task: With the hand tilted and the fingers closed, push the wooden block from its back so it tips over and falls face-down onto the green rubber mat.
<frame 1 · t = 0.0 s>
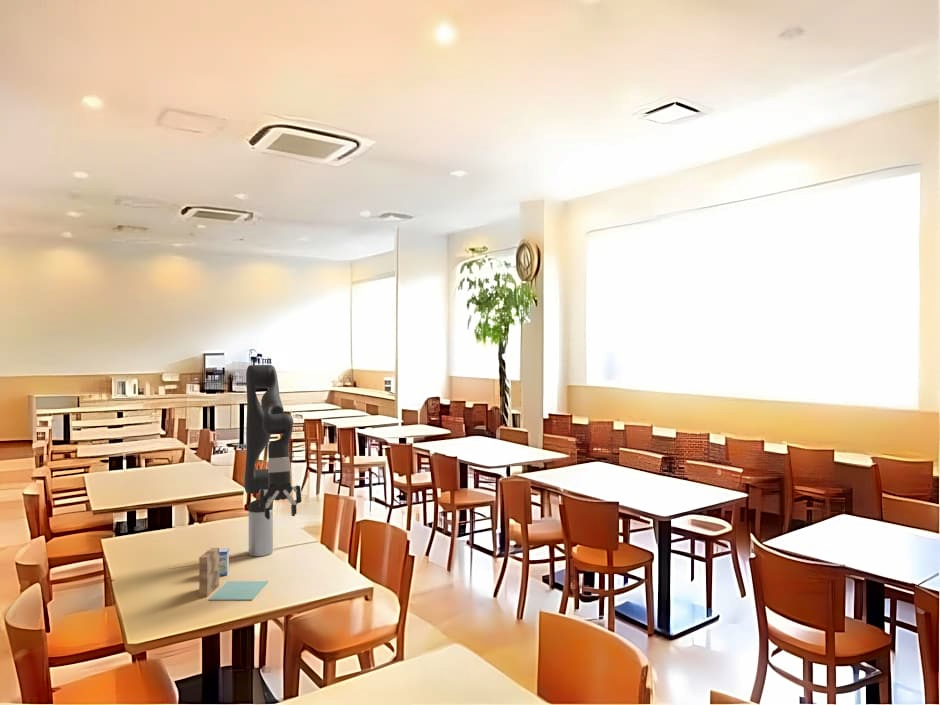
hand: (280, 517, 219), 22 cm above the table, tool pointing down, fingers open, 8 cm apart
medicine box: (216, 575, 227), on the table
mat: (239, 591, 211), on the table
wooden block: (209, 591, 211), on the table
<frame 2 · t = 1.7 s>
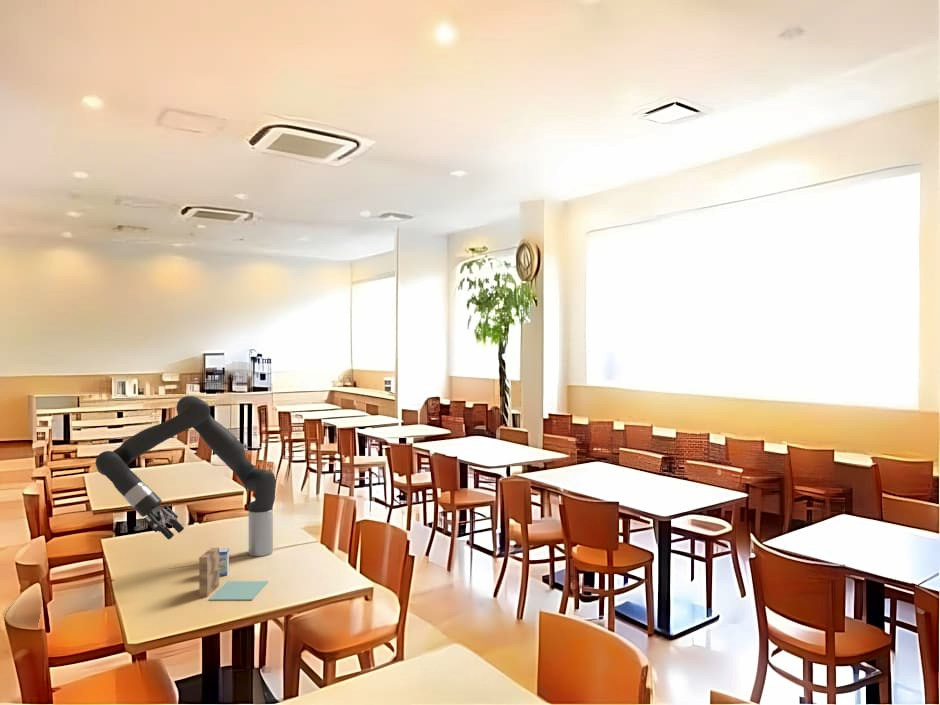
hand: (176, 534, 210), 19 cm above the table, tool tilted 45°, fingers open, 8 cm apart
nothing on the table moved.
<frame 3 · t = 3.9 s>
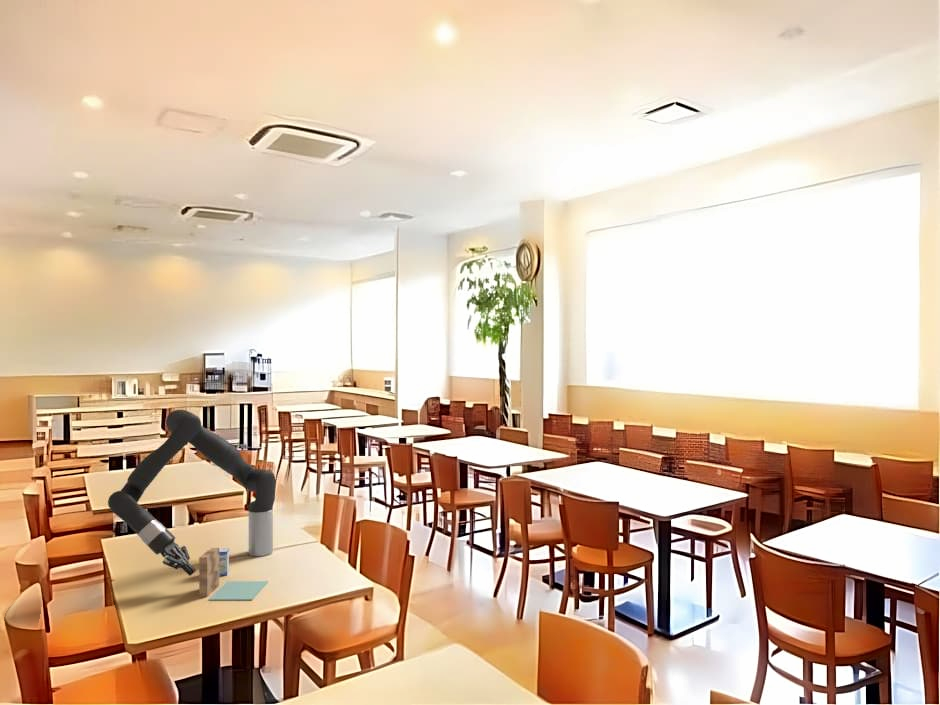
hand: (193, 573, 210), 6 cm above the table, tool tilted 45°, fingers closed
nothing on the table moved.
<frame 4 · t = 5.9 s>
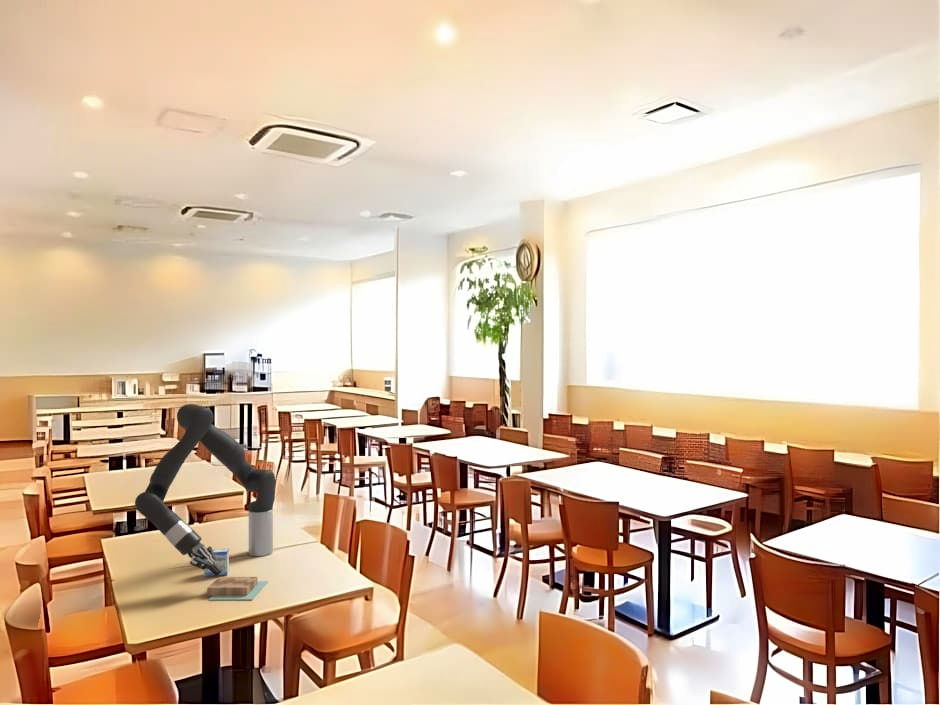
hand: (219, 573, 211), 6 cm above the table, tool tilted 45°, fingers closed
wooden block: (213, 586, 211), point 2 cm above the table, tilted 90°, touching mat
everything else where it was.
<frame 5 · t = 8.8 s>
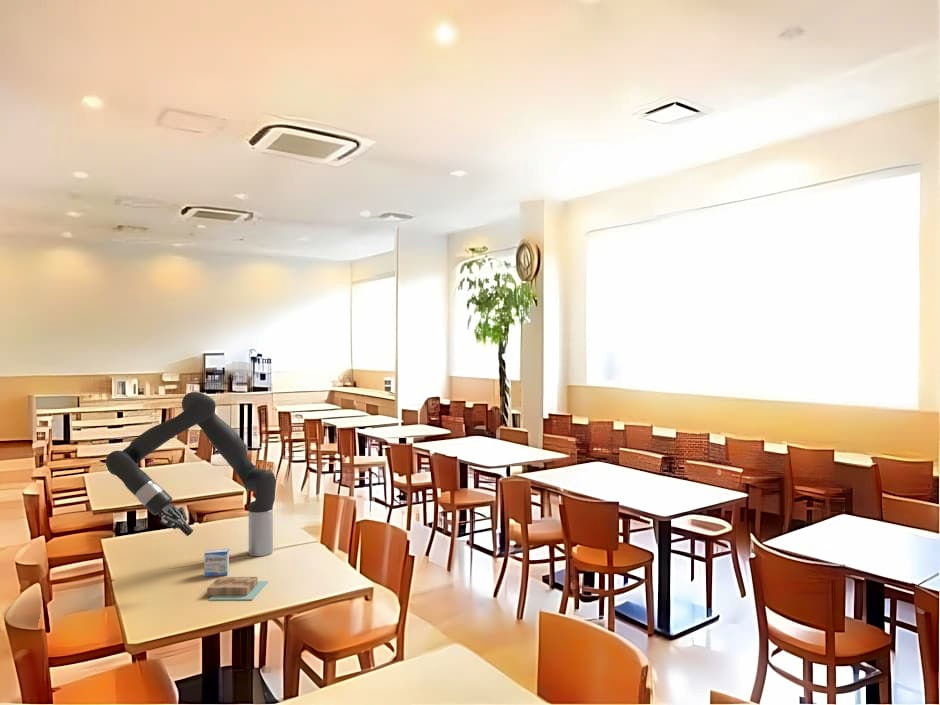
hand: (190, 533, 211), 19 cm above the table, tool tilted 45°, fingers closed
nothing on the table moved.
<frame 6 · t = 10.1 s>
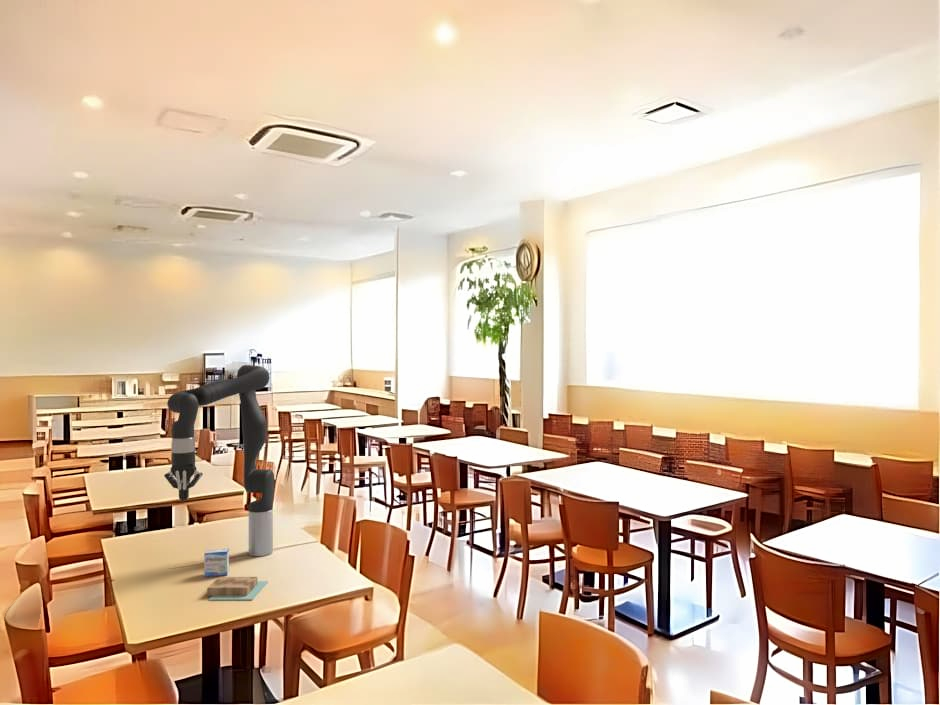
hand: (183, 500, 219), 29 cm above the table, tool pointing down, fingers closed
nothing on the table moved.
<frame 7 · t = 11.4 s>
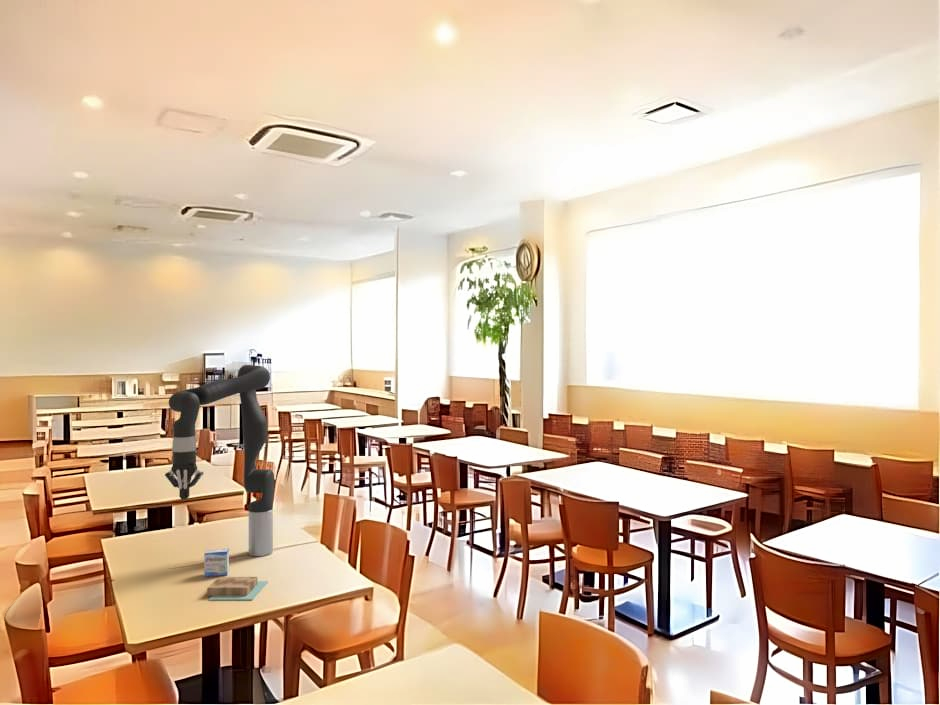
hand: (184, 499, 219), 29 cm above the table, tool pointing down, fingers closed
nothing on the table moved.
at the end: wooden block tilted 90°; wooden block inside the target area (4.7 cm from its centre), point 1.7 cm above the table; wooden block touching mat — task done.
